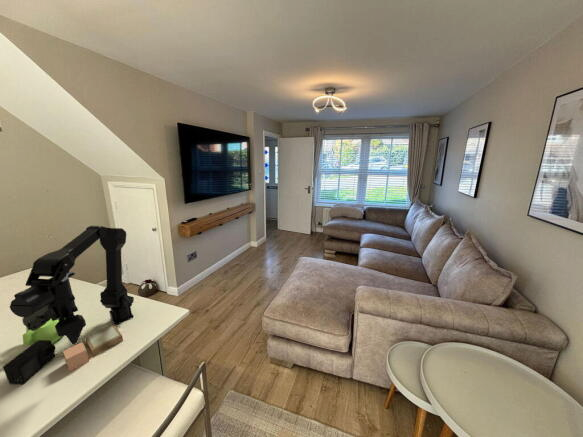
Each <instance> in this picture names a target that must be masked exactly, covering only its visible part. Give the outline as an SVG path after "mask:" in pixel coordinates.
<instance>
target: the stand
mask: <svg viewBox="0 0 583 437" xmlns="http://www.w3.org/2000/svg"><path fill="white" fill-rule="evenodd" d="M115 325H116V324H115V323H114V324H111V325H110V326H107V327H104V328H102V329H101V330H98V331H96V332H94V333H92V334H90V335H87V336H84V340H85V341H84V342H85V345H86V346H87V347H88V349H89V351H90V352H91V355H92V356H93V357H95V356H96V355H98V354H100V353H102V352H104V351H106V350H108V349H110V348H112V347H114V346H116V345H117V344H120V343H121V342H123V341H124V338H123V337H124V336H123V334H122V333H121V332H120V331H119V329H118V328H117V327H116V326H115Z"/></svg>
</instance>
